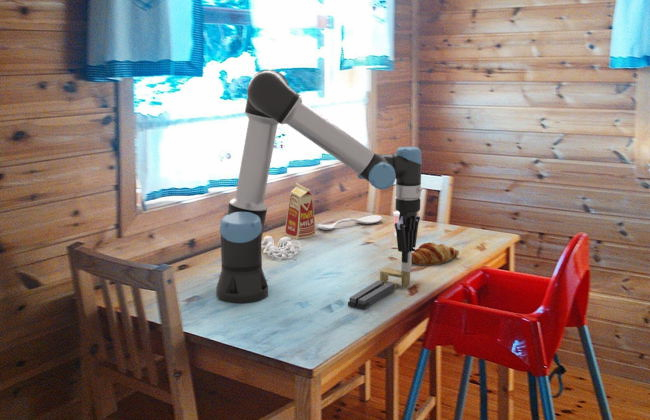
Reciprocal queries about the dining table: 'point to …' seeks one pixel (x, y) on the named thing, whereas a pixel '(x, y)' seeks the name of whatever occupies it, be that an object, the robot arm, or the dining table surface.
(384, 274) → the tan block
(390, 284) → the tongs fixed arm
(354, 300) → the tongs arm
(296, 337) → the dining table surface
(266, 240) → the tangled rod sculpture
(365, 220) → the white long curved piece
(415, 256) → the croissant
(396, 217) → the beverage cup
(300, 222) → the milk carton
